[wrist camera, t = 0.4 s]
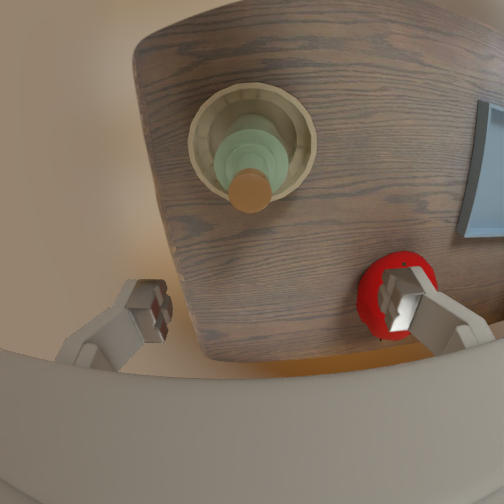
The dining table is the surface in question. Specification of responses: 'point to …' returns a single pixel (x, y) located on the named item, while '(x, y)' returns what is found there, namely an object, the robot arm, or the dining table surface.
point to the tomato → (370, 287)
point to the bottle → (251, 162)
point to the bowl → (253, 101)
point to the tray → (485, 177)
